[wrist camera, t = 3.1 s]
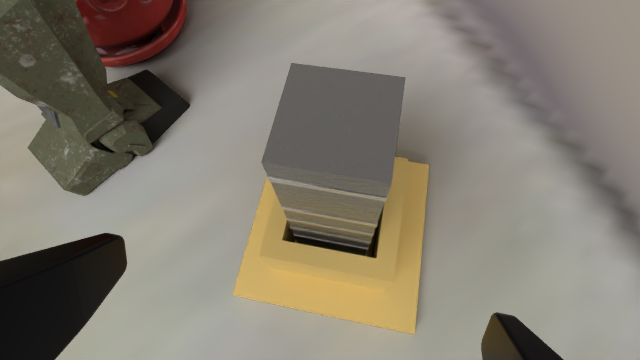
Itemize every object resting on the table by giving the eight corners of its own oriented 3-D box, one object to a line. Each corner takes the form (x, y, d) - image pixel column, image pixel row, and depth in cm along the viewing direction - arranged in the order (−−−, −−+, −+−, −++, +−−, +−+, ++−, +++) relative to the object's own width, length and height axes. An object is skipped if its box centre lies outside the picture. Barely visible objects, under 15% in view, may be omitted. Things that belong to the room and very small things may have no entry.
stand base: (411, 334, 20) (433, 334, 16) (236, 296, 22) (208, 286, 17) (425, 170, 25) (446, 132, 20) (279, 147, 26) (266, 106, 21)
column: (364, 261, 21) (393, 185, 10) (299, 249, 21) (259, 163, 11) (373, 200, 23) (407, 76, 12) (312, 189, 23) (290, 61, 12)
